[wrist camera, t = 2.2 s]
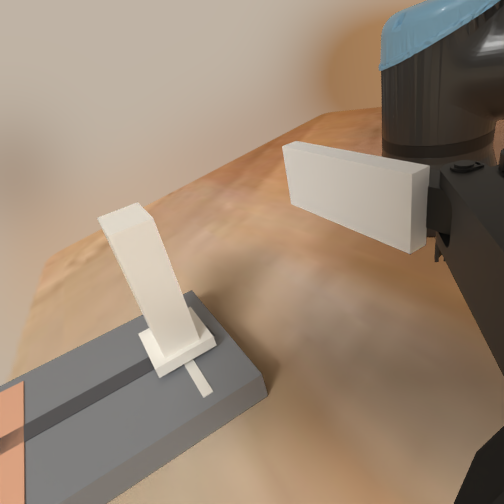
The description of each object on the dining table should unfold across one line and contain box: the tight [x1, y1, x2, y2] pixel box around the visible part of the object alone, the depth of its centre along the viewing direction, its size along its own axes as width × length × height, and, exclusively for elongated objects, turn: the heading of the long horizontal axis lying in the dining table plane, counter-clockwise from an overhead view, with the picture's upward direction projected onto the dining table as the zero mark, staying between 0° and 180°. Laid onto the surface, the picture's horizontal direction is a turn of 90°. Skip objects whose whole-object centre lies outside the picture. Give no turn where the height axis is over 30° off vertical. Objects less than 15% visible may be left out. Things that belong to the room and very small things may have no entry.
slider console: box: [0, 290, 268, 504], centre depth 29 cm, size 24×14×3 cm, turn 121°
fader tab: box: [97, 203, 216, 378], centre depth 28 cm, size 5×5×12 cm
